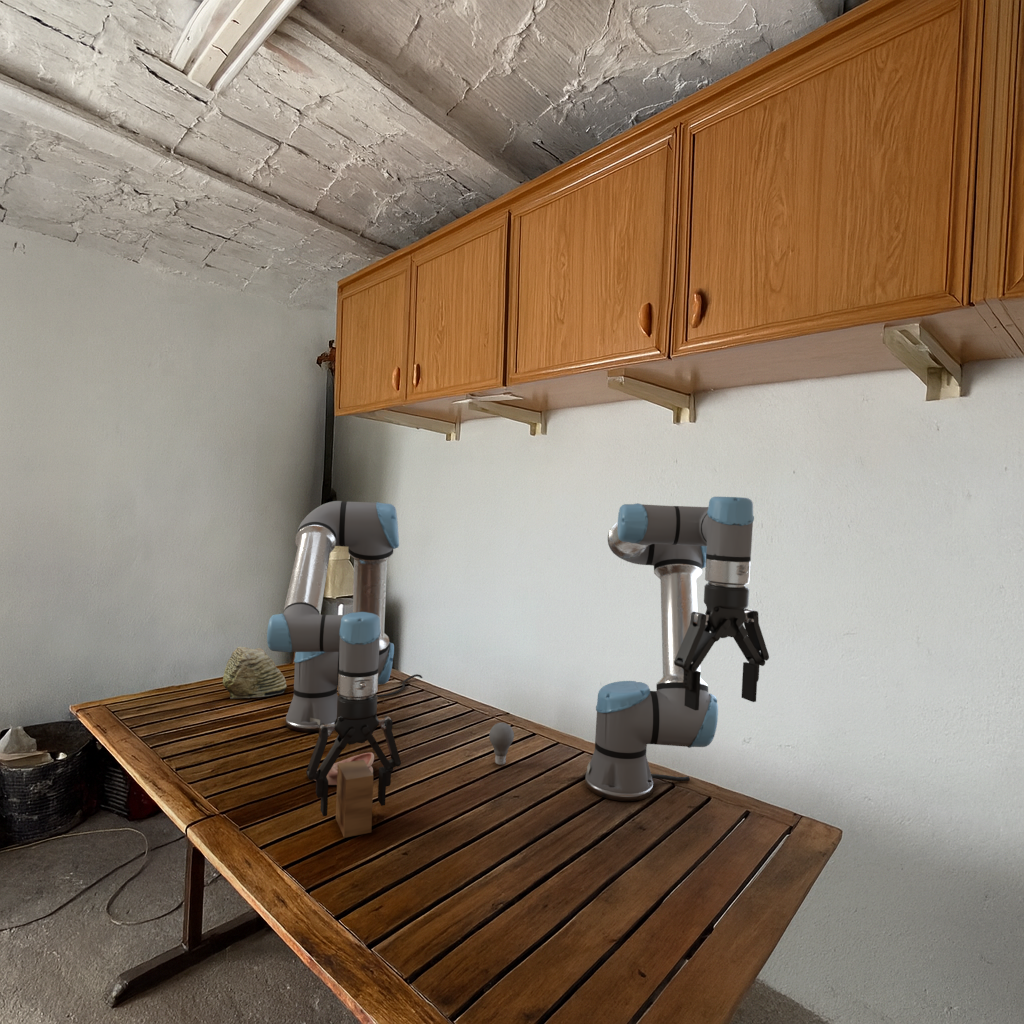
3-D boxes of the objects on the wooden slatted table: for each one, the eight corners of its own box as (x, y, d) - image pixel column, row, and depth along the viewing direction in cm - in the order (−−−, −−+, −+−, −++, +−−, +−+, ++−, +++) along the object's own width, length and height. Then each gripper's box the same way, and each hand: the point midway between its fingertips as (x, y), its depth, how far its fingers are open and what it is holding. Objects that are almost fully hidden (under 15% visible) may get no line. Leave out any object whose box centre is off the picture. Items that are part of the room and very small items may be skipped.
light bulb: (487, 758, 157) (489, 718, 156) (511, 759, 157) (513, 719, 157) (488, 769, 151) (490, 727, 150) (513, 769, 151) (515, 727, 151)
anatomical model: (302, 763, 140) (328, 744, 151) (302, 781, 140) (327, 761, 151) (358, 771, 137) (380, 751, 148) (358, 789, 137) (379, 768, 148)
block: (335, 818, 125) (337, 763, 125) (361, 813, 127) (363, 759, 127) (343, 838, 118) (346, 779, 118) (371, 832, 120) (373, 775, 120)
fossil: (218, 695, 195) (220, 647, 195) (278, 685, 208) (279, 640, 207) (228, 703, 189) (230, 653, 188) (289, 692, 201) (290, 645, 201)
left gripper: (298, 706, 114) (293, 828, 114) (420, 694, 124) (416, 805, 125) (292, 694, 121) (288, 809, 121) (409, 683, 131) (404, 789, 131)
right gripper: (687, 588, 103) (681, 718, 103) (793, 585, 114) (787, 702, 114) (657, 582, 109) (651, 704, 110) (760, 580, 121) (754, 690, 121)
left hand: (353, 807), depth 123 cm, fingers open, 10 cm apart
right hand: (720, 703), depth 112 cm, fingers open, 13 cm apart
